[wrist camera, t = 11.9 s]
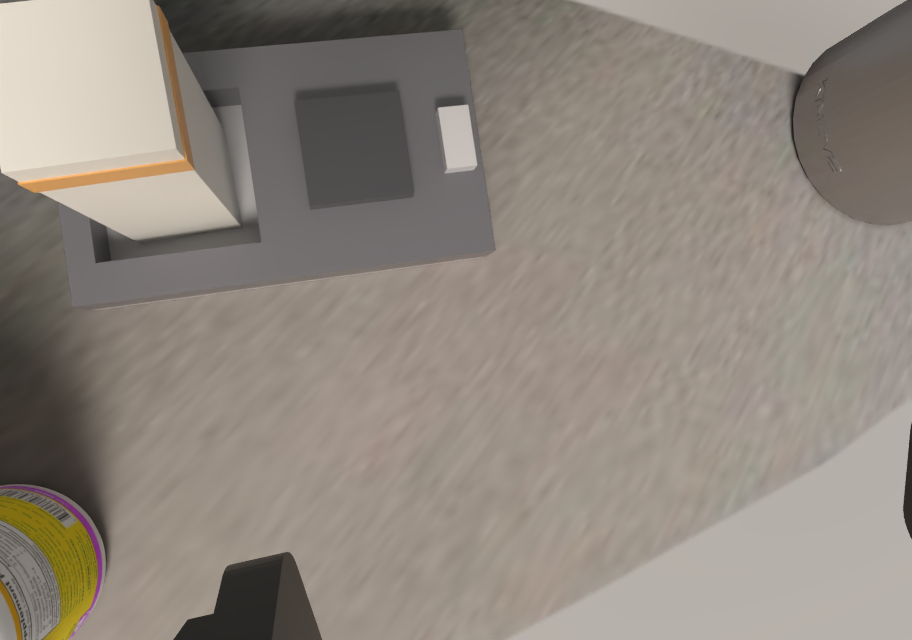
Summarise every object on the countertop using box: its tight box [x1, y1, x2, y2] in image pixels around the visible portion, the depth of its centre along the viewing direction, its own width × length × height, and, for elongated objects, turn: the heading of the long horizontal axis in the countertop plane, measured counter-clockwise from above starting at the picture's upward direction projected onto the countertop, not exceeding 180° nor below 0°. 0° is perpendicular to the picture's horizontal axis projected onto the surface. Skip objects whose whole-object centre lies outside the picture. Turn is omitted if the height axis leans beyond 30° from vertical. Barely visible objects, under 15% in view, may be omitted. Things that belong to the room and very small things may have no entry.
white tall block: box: [0, 0, 242, 243], centre depth 24 cm, size 4×4×12 cm
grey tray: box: [57, 29, 496, 310], centre depth 29 cm, size 16×9×3 cm, turn 99°
